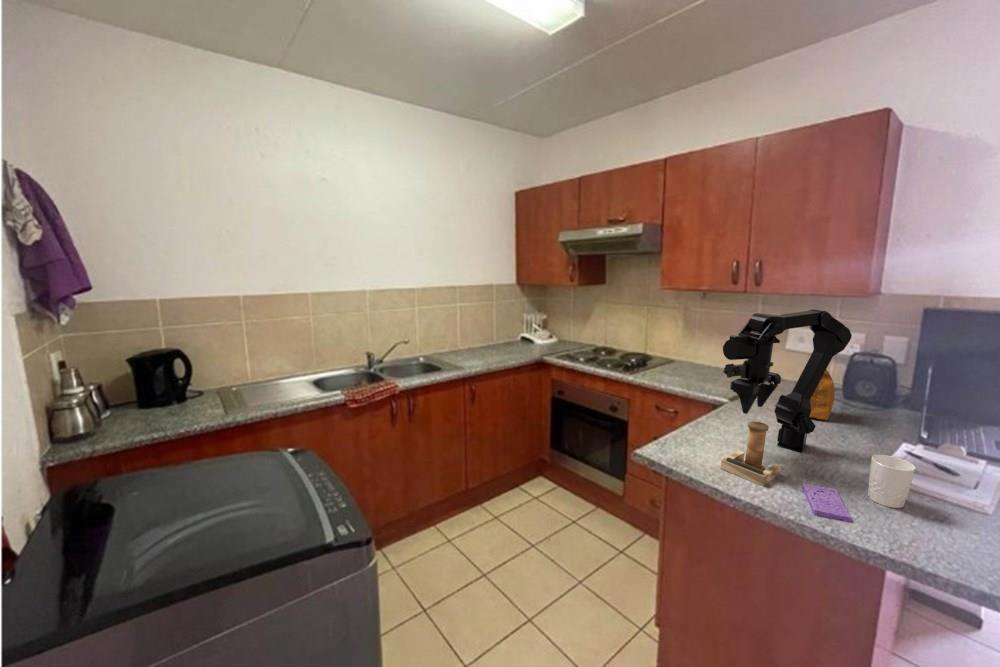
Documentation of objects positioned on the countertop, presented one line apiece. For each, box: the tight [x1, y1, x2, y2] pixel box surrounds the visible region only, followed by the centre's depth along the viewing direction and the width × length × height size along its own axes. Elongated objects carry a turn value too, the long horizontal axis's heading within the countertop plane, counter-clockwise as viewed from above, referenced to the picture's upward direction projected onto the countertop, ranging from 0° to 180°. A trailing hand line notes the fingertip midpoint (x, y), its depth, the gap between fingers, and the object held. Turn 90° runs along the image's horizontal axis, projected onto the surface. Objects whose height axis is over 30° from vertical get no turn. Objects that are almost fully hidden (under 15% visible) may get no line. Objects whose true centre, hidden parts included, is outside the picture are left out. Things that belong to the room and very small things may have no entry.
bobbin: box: [742, 420, 770, 471], centre depth 121 cm, size 6×6×13 cm
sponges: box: [802, 483, 851, 523], centre depth 106 cm, size 7×13×2 cm, turn 156°
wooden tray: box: [720, 450, 782, 487], centre depth 121 cm, size 10×11×3 cm
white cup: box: [867, 454, 917, 509], centre depth 107 cm, size 8×8×10 cm
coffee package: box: [809, 369, 835, 421], centre depth 160 cm, size 10×12×22 cm
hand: (752, 410), depth 130 cm, fingers open, 9 cm apart
